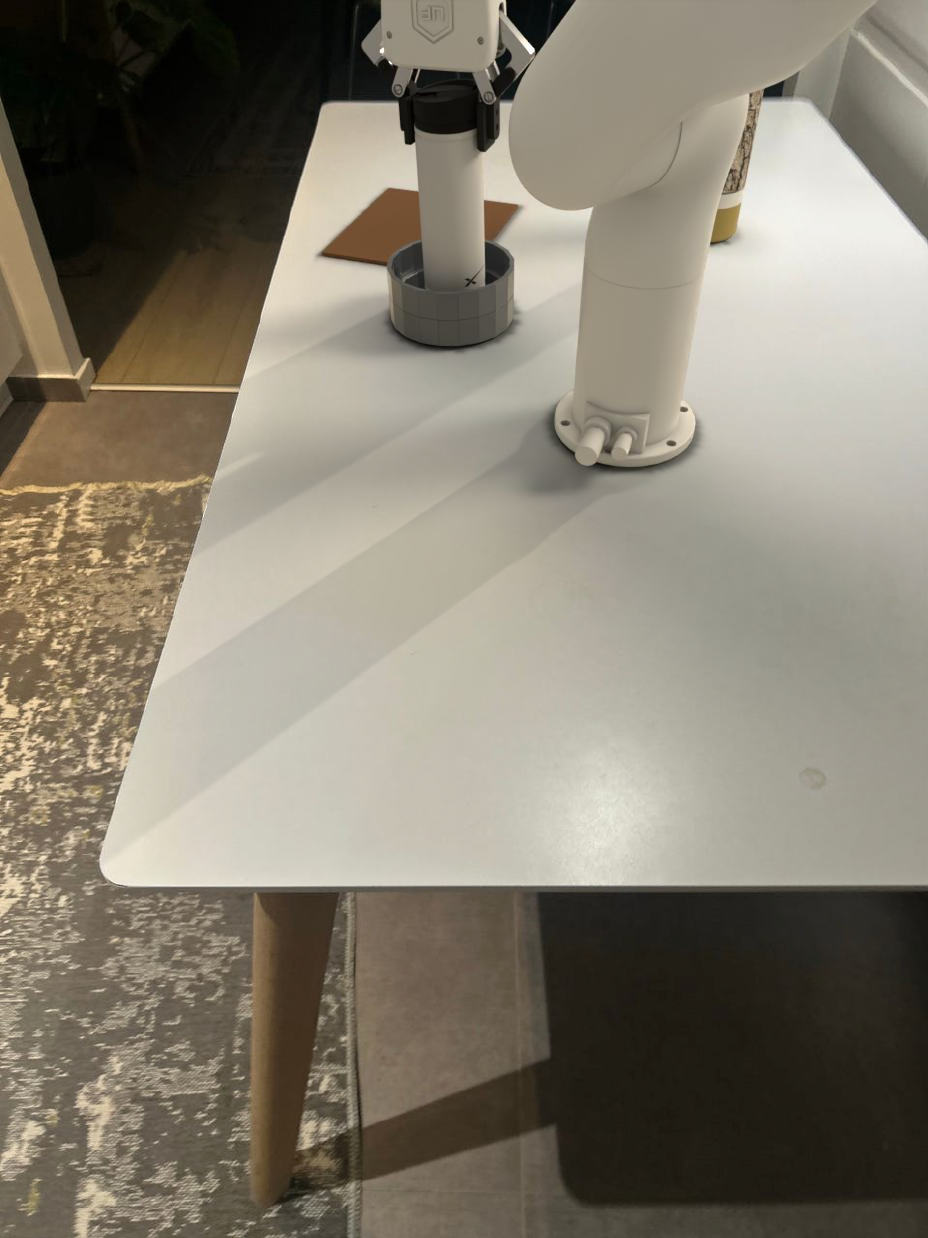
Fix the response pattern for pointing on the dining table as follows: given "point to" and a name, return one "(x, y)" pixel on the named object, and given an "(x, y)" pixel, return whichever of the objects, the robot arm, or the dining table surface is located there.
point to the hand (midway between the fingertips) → (450, 141)
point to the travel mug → (450, 185)
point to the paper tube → (737, 175)
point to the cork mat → (399, 227)
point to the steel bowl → (450, 300)
